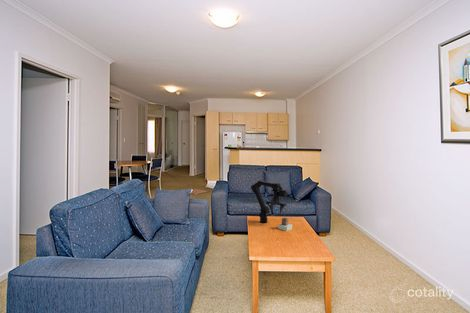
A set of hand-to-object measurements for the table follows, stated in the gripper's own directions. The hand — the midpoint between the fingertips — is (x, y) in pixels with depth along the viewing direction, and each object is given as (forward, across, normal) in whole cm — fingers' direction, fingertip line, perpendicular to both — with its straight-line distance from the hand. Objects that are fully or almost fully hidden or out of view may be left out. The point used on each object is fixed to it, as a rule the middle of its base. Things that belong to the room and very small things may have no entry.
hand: (275, 212), depth 247 cm
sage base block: (+12, +12, -5) cm, 18 cm away
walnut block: (+8, +12, -5) cm, 15 cm away
